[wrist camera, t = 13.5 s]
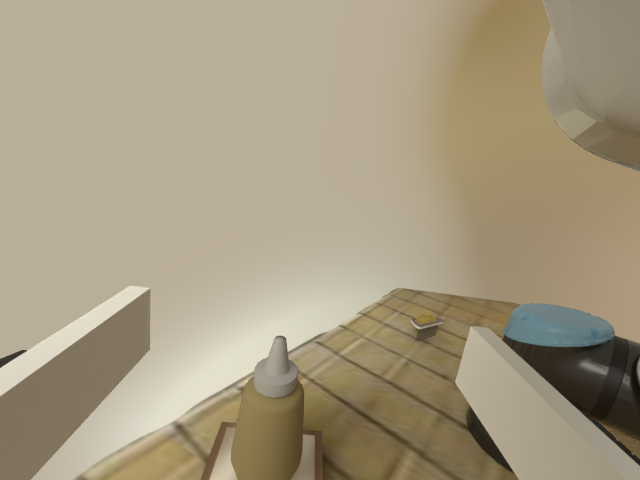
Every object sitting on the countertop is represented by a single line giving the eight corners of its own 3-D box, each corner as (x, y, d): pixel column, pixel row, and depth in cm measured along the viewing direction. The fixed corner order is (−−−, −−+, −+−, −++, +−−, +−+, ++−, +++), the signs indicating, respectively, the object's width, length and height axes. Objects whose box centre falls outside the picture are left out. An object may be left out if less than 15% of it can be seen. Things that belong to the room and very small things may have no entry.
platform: (381, 332, 79) (386, 309, 77) (425, 321, 88) (430, 301, 87) (417, 358, 69) (423, 333, 67) (462, 343, 79) (468, 321, 77)
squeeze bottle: (299, 446, 39) (317, 322, 35) (297, 516, 31) (321, 367, 27) (237, 442, 38) (248, 316, 34) (219, 512, 31) (231, 359, 26)
